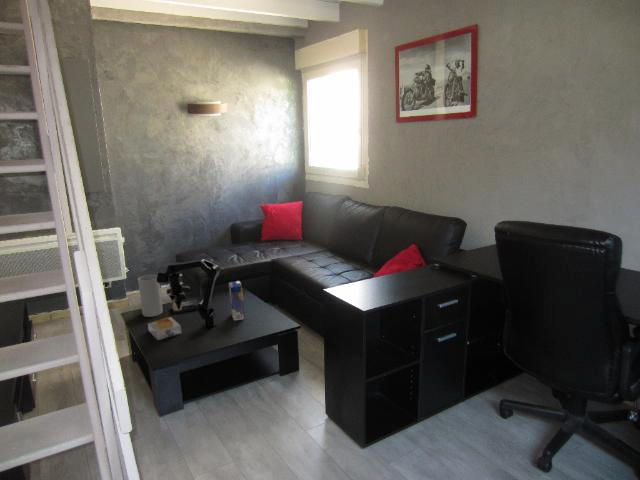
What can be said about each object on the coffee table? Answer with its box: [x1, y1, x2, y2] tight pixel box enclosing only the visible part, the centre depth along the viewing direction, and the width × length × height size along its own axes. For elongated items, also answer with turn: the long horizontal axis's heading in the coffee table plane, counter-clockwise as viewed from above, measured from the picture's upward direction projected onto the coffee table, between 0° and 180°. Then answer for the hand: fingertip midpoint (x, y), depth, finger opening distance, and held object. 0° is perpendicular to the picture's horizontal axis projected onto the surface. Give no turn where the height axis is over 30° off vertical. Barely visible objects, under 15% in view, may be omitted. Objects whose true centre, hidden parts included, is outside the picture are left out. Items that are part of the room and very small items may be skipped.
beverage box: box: [228, 280, 245, 321], centre depth 285 cm, size 7×11×22 cm, turn 18°
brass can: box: [172, 300, 182, 311], centre depth 274 cm, size 5×5×7 cm
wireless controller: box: [171, 281, 204, 315], centre depth 301 cm, size 20×14×17 cm
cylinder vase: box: [137, 274, 164, 318], centre depth 294 cm, size 12×12×25 cm
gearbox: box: [147, 316, 182, 341], centre depth 266 cm, size 19×14×7 cm
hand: (177, 307), depth 275 cm, fingers closed on brass can, 5 cm apart
